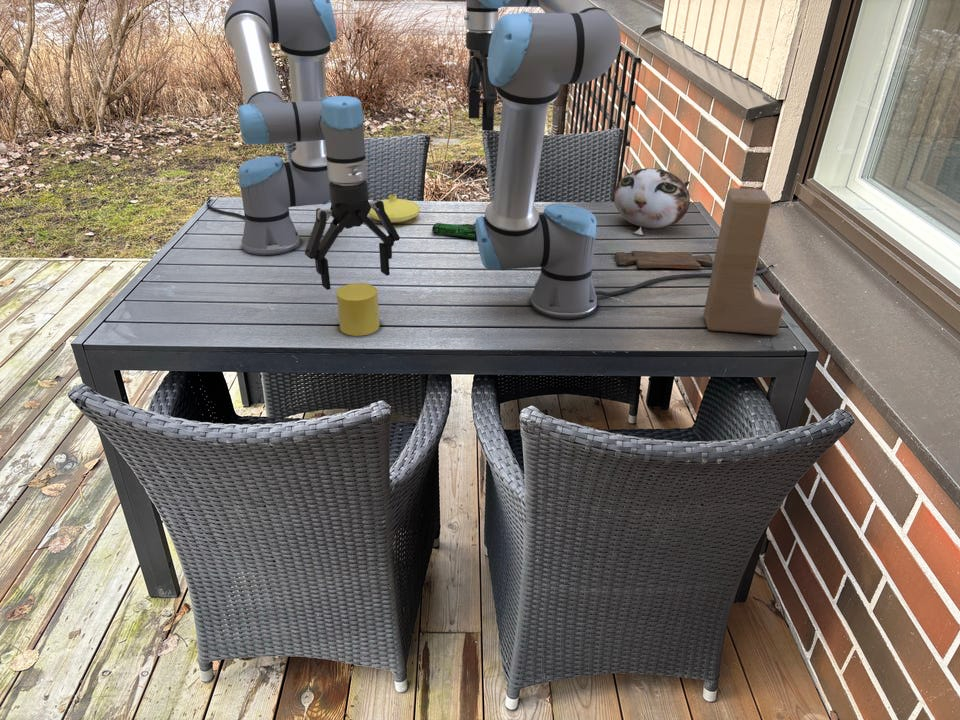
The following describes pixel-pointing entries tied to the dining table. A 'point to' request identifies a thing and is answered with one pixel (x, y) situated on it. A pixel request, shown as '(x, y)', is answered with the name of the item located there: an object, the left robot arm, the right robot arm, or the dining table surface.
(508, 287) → the dining table surface
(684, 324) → the dining table surface
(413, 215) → the yellow pot lid
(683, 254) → the wooden paddle board
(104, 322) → the dining table surface
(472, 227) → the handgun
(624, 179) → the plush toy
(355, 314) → the canister
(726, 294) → the decorative block
